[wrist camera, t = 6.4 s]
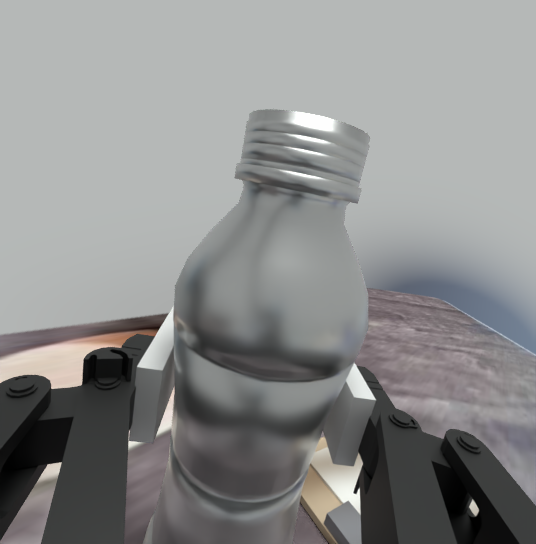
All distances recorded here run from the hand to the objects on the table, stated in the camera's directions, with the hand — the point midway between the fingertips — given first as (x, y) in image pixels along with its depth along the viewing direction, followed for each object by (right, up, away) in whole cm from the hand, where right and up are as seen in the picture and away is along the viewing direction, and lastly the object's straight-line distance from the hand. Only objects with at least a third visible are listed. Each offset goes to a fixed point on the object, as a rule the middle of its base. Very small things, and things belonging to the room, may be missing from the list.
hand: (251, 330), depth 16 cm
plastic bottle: (-2, -12, -2) cm, 12 cm away
